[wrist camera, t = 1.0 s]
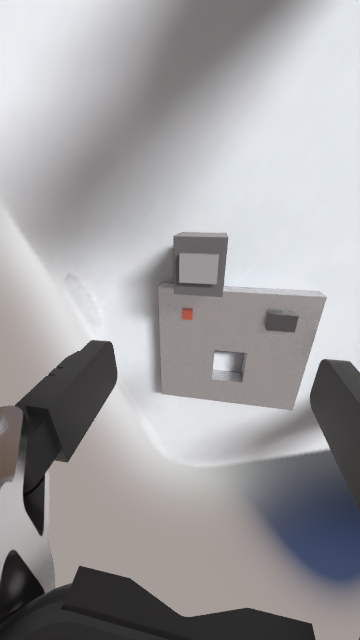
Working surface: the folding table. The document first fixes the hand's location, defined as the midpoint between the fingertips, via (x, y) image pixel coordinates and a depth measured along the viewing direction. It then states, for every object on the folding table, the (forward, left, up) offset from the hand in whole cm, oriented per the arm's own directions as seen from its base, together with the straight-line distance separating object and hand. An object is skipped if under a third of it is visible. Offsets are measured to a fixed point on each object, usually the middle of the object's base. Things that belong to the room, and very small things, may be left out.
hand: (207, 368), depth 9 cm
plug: (-1, -1, -19) cm, 19 cm away
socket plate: (+10, +3, -19) cm, 21 cm away
